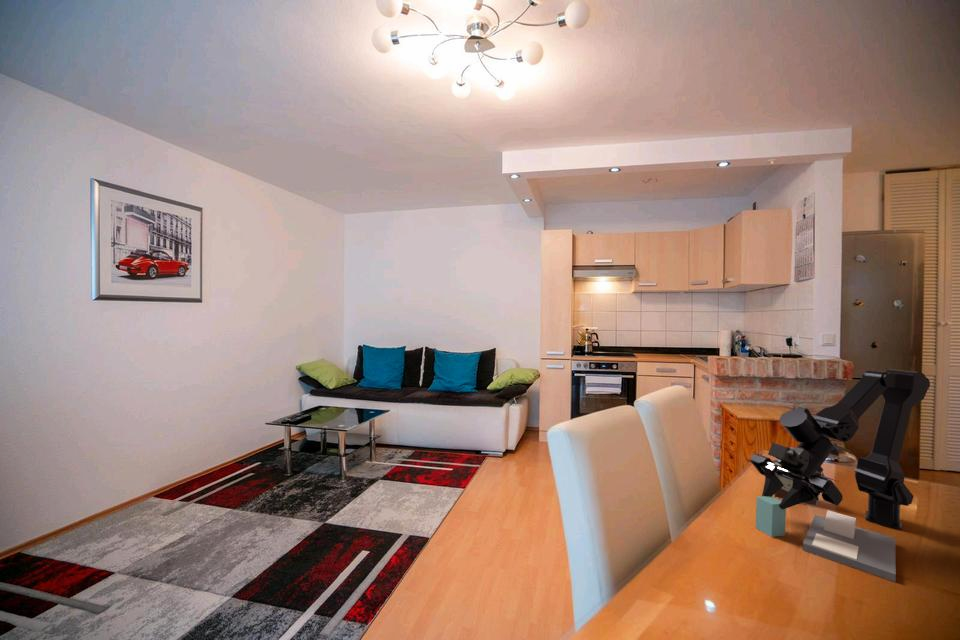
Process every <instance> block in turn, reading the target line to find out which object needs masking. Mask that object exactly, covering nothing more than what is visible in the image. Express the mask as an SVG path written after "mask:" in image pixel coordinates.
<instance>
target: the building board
mask: <svg viewBox="0 0 960 640" xmlns="http://www.w3.org/2000/svg"><path fill="white" fill-rule="evenodd" d="M813 516H814V517H813V519H812V521H811V523H810V525H809V527H808V530H807V533H806V535H805V537H804V540H803V542H802V551H805V552H806V553H807V552H808V553H810V554H813V555H815V556H818V557H821V558H823V559H824V558H825V559H827V560H831V561H834V562H837V563H840V564H842V565H844V566H848V567H850V568H854V569H856V570H859V571H862V572H865V573H867V574H870V575H873V576H877V577H879V578H882V579H886V580H887V581H891V582H894V583H896V579H897V577H896V574H897V573H896V571H897V570H896V569H897V567H896V566H897V565H896V537H893V536H890V535H886V534H883V533H879V532H875V531H873V530H868V529H867V528H866V529H865V528H861V527H858V526H856V524H857V523H856V521H857V519H856V517H854V516H849V515H846V514H842V513H839V512H835V511H831V510H829V509H827V511H826V515H825V517H824V516H820V515H817V514H814V515H813Z"/></svg>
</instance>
